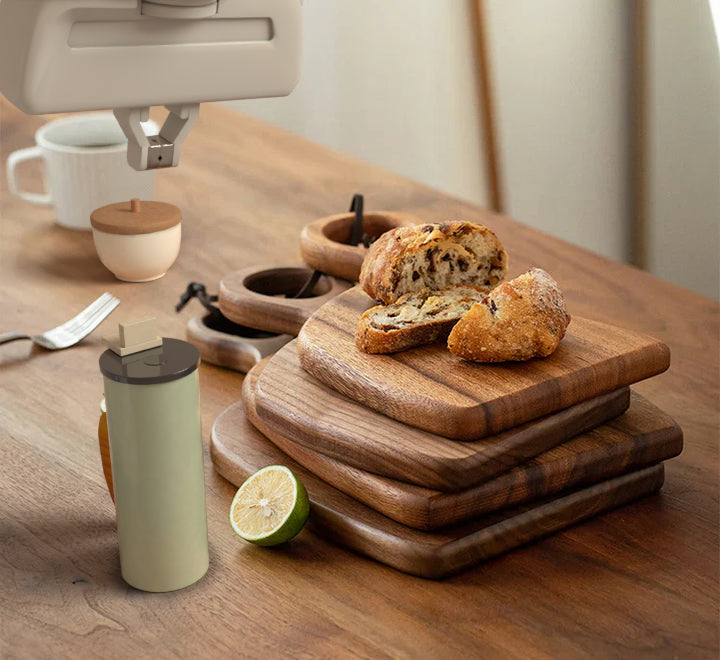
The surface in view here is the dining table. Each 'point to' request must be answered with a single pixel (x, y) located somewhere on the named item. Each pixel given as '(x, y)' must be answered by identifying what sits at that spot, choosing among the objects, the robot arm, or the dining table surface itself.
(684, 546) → the dining table surface
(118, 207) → the lidded bowl
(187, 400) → the travel cup
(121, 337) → the cup slider
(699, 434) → the dining table surface
